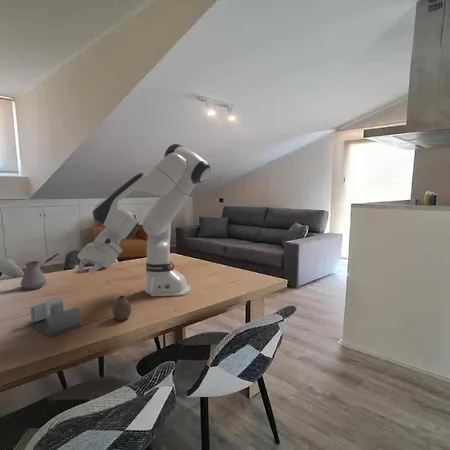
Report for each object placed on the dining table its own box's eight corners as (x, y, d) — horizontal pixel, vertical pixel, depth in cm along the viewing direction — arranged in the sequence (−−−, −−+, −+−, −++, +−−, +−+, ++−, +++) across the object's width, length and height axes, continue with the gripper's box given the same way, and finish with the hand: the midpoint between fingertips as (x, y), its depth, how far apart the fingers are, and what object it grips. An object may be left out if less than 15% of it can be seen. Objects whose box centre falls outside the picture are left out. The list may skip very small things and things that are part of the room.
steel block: (64, 322, 119) (62, 299, 118) (51, 326, 116) (49, 302, 114) (58, 319, 122) (56, 296, 121) (45, 323, 118) (44, 300, 117)
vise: (28, 324, 120) (27, 306, 119) (58, 314, 129) (57, 297, 128) (51, 337, 109) (49, 317, 109) (82, 326, 118) (81, 308, 117)
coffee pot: (30, 292, 158) (28, 262, 156) (15, 289, 162) (13, 259, 161) (68, 280, 177) (66, 253, 175) (54, 278, 182) (52, 252, 180)
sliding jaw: (31, 321, 120) (30, 306, 119) (58, 313, 128) (57, 299, 127) (33, 323, 118) (32, 307, 118) (61, 314, 126) (60, 300, 126)
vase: (133, 314, 129) (132, 293, 128) (129, 321, 122) (128, 299, 121) (116, 315, 129) (115, 293, 128) (110, 322, 122) (109, 299, 121)
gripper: (86, 236, 138) (65, 263, 131) (114, 241, 125) (92, 271, 119) (97, 245, 142) (76, 272, 135) (125, 251, 129) (104, 280, 123)
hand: (84, 271), depth 127 cm, fingers open, 7 cm apart
